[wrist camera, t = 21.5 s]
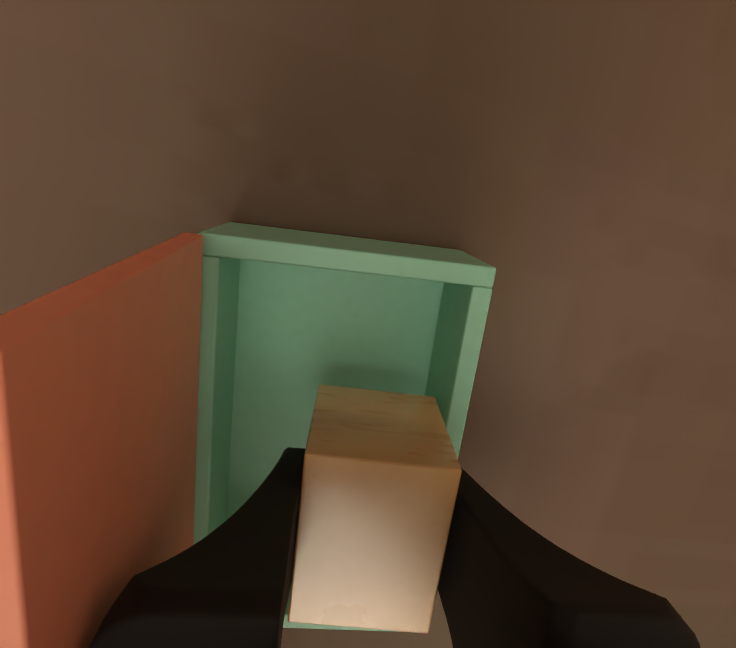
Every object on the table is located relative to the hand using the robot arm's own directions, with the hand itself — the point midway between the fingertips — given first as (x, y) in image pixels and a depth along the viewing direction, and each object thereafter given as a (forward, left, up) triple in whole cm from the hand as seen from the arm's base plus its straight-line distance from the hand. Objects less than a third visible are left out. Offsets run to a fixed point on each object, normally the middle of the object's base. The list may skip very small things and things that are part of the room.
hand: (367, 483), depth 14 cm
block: (0, 0, -1) cm, 1 cm away
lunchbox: (0, +1, -5) cm, 5 cm away
